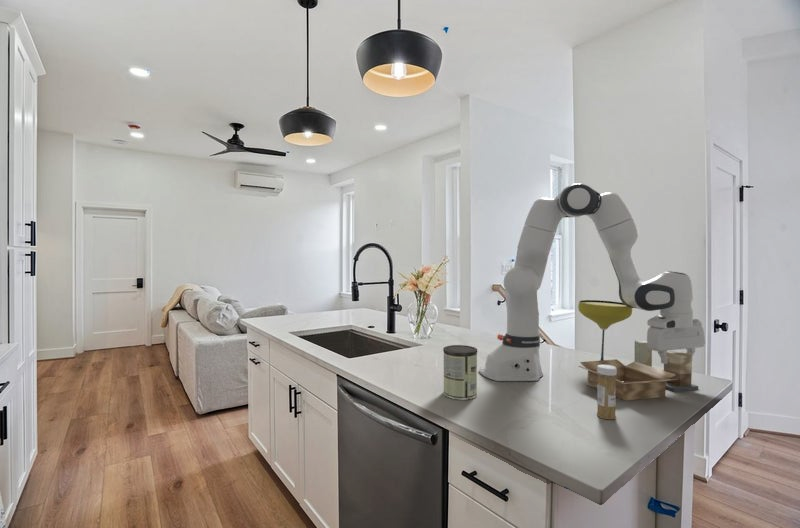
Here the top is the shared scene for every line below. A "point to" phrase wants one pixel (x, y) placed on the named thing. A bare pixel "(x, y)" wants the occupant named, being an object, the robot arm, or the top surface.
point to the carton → (632, 379)
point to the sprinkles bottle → (606, 391)
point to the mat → (678, 388)
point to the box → (643, 353)
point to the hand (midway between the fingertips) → (676, 362)
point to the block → (679, 368)
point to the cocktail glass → (604, 314)
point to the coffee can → (460, 372)
